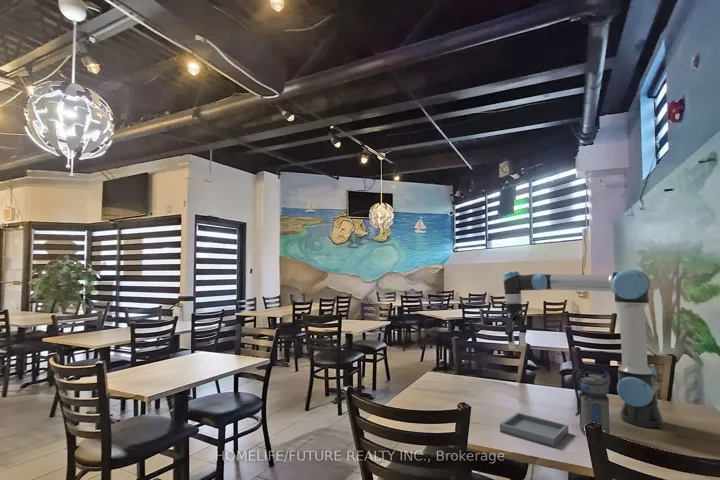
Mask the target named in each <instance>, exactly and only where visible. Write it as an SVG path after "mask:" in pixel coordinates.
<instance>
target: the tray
mask: <svg viewBox="0 0 720 480" xmlns="http://www.w3.org/2000/svg"><path fill="white" fill-rule="evenodd" d="M499 432H500V433H502V434H506V435H511V436H513V437H517V438H520V439H523V440H527V441H530V442H533V443H537V444H540V445H543V446H546V447H550V448H552V449H553V448H555V447H556V446H557V445H558V444H559V443H560V442H562V440H563V439H564V438H566V436H567V435H568V434H569V424H564V423H561V422H557V421H554V420H549V419H544V418H541V417H537V416H535V415H534V416H532V415H530V414H525V413H522V412H521V413H520V412H516V413H514V414H513V415H511V416H510V417H509V418H507V419H505V420H504V421H502V422H501V423H499Z"/></svg>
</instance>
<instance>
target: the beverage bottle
mask: <svg viewBox="0 0 720 480" xmlns="http://www.w3.org/2000/svg"><path fill="white" fill-rule="evenodd" d="M571 378H572V382H573V383H572V384H573V387H574V392H575V397H576V410H577V411H576V413H575V414H574V415H575V417H577V416H579V428H580V431H581V433H582V434H584V435H586V434H585V431H584V425H585V424H588V423H593V422H595V423H599V424H601V425H602V427H603V430H604V431H605V432H606V433H609V434H610V435H611V431H610V430H611V429H610V397H608V396H607V395H608V394H609V393H610V392H609V391H610V390H609V387H610V385H611V376H610V373H609V371H608V370H607V369H604V374H600V373H597V372H593V371H585V370H583V369H577V368H576V369H574V370H573V371H572V372H571ZM576 379H577V380H578V382H576V381H577V380H576ZM577 383H578V384H577ZM577 385H578V386H577ZM578 388H579V389H578ZM578 390H580V393H579V391H578Z"/></svg>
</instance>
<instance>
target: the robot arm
mask: <svg viewBox="0 0 720 480" xmlns="http://www.w3.org/2000/svg"><path fill="white" fill-rule="evenodd" d="M502 282H503V289H504V297H503V298H504V299H505V300H504V301H505V311H507V312H509V313H506V322H505V331H504V334H505V336H507V342H508V344H507V346H508V350H516V344H515V334H514V331H515V326H516V327H517V329H518V338H519V339H518V340H519V347H526V346H527V343H526V342H527V341H526V333H527V332H528V331H527V328H526V324H525V319H524V316H523V303H522V302H523V300H522V291H543V290H549V291H551V290H556V291H559V290H560V291H586V292H587V291H591V292H592V291H593V292H610V293H613V294H614V303H615V304H616V305H618V307H619V324H620V327H619V328H620V329H619V330H620V346H621V349H620V350H621V365H620V366H618V368H617V377H618V382H617V384H616V391H617V394H618V396H619V398H620V399H621V400H622V401H623V404H622V407H621V410H620V412H619V414H620V419H621V420H622V421H624V422H626V423H628V424H631V425H634V426H637V427H643V428H648V427H660V426H663V424H664V418H663V416H662V414H661V411H660V408H659V404H658V403H659V402H658V384H657V383H658V382H657V380H658V379H657V378H658V375H657V371H656V370H655V368H652V367H648V366H649V365H648V350H647V349H648V348H647V346H648V345H647V334H646V333H647V331H646V329H647V328H646V313H645V311H646V310H645V307H646V306H647V305H648V304H649V303H650V302H649V301H650V299H649V290H650V288H651V281H650V278H649V277H648V276H647V274H646V273H644V272H642V271H639V270H637V269H624V270H621V271H618V272H615V271H614V272H612V273H610V274H570V273H569V274H544V273H533V274H520V272H519V271H505V272H504V273H503V281H502ZM663 427H664V426H663Z"/></svg>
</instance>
